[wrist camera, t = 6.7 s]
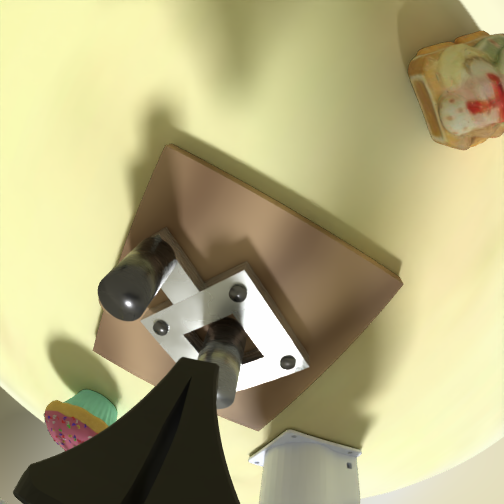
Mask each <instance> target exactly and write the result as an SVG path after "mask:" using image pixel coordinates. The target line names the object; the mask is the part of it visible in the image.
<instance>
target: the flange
mask: <svg viewBox="0 0 504 504" xmlns="http://www.w3.org/2000/svg"><path fill="white" fill-rule="evenodd" d="M160 288H161V289H162V290H163V291H164V293H165V294H166V295H167V297H168V298H169V300H167V301H165V302H163V303H161V304H159V305H157V306H155V307H153V308H151V309H149V310H147V311H146V312H145V314H144V315H143V317H142V318H141V320H140V321H141V323H142V324H143V325H144V326H145V328H146V329H147V330H148V331H149V332H150V334H151V335H152V336H153V337H154V338H155V339H156V341H157V342H158V343H159V344H160V345H161V346H162V348H163V349H164V350H165V351H166V352H167V353H168V354H169V355H170V357H171V358H172V359H173V360H174V361H175V362H177V361H178V360H179V359H180V358H181V357H186V358H191V359H196V360H197V358H198V356H199V353H200V350H201V347H202V345H203V342H202V340H201V339H200V338H199V337H198V335H197V334H196V333H195V332H194V331H193V330H196V329H198V328H200V327H203V326H205V325H208V324H210V323H212V322H215V321H217V320H219V319H222V318H224V317H226V316H229V315H231V314H233V315H234V316H235V318H236V319H237V320H238V322H239V323H240V324H241V326H242V327H243V328H244V330H245V331H246V332H247V334H248V335H249V336H250V338H251V339H252V340H253V342H254V343H255V344H256V346H257V347H258V349H255V350H252V351H250V352H247V353H244V355H243V360H242V365H241V370H240V375H239V380H238V385H237V390H236V391H239V390H242V389H246V388H249V387H252V386H256V385H259V384H262V383H265V382H268V381H271V380H274V379H277V378H280V377H283V376H286V375H289V374H292V373H295V372H297V371H300V370H303V369H306V368H308V367H310V366H309V354H308V353H307V351H306V350H305V348H304V347H303V345H302V344H301V342H300V340H299V339H298V337H297V336H296V334H295V333H294V331H293V330H292V328H291V327H290V325H289V324H288V322H287V321H286V319H285V318H284V316H283V315H282V313H281V312H280V310H279V309H278V307H277V305H276V304H275V302H274V301H273V299H272V298H271V296H270V295H269V293H268V292H267V290H266V289H265V287H264V286H263V284H262V283H261V281H260V279H259V278H258V276H257V275H256V273H255V272H254V270H253V269H252V267H251V266H250V264H249V263H248V261H245V262H243V263H241V264H239V265H237V266H235V267H233V268H231V269H229V270H227V271H225V272H223V273H221V274H219V275H217V276H215V277H213V278H211V279H209V280H207V281H205V282H204V280H203V279H202V277H201V276H200V275H199V273H198V272H197V270H196V269H195V267H194V266H193V265H192V263H191V262H190V260H189V259H188V257H187V256H186V255H185V253H184V252H183V250H182V249H181V247H180V246H179V244H178V243H177V242H176V240H175V239H174V237H173V236H172V234H171V233H170V231H169V230H168V228H167V227H165V228H164V229H162V230H160V231H159V232H157V233H156V234H154V235H153V236H151V237H149V238H146V239H144V240H143V241H141V242H140V243H139V244H138V245H137V246H136V247H135V248H134V249H133V250H132V251H131V252H130V253H129V254H128V255H127V256H126V257H125V258H124V259H123V260H122V261H120V262H119V263H118V264H117V265H116V266H115V267H114V268H113V269H112V270H111V271H110V272H109V273H108V274H107V275H106V276H105V277H104V278H103V279H102V280H101V282H100V283H99V286H98V296H99V300H100V302H101V304H102V305H103V307H104V308H105V309H106V311H107V312H108V313H109V314H111V315H112V316H113V317H115V318H117V319H119V320H122V321H135V320H137V319H139V318H140V317H141V316H142V314H143V313H144V311H145V310H146V308H147V307H148V305H149V304H150V302H151V301H152V299H153V298H154V297H155V295H156V294H157V292H158V291H159V289H160Z"/></svg>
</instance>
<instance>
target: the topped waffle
mask: <svg viewBox="0 0 504 504" xmlns="http://www.w3.org/2000/svg"><path fill="white" fill-rule="evenodd" d="M408 74H409V78H410V81H411V84H412V87H413V89H414V92H415V94H416V97H417V99H418V102H419V104H420V107H421V109H422V112H423V115H424V118H425V121H426V124H427V127H428V129H429V132H430V135H431V137H432V139H433V140H434V141H435V142H437V143H440V144H443V145H446V146H449V147H452V148H456V149H460V150H467V149H468V148H469V147H473V146H476V145H477V144H479V143H483V142H484V141H486V140H487V139H488V138H496V137H499V136H501V135H502V134H503V133H504V34H494V35H489V34H488V33H487V32H485V31H478V32H475V33H471V34H468V35H464V36H461V37H458V38H456V39H455V41H454V43H453V42H445V43H440V44H436V45H432V46H429V47H426V48H423V49H421V50H419V51H418V53H417V55H416V57H415V58H414V59H412V60H411V62H410V64H409V68H408Z"/></svg>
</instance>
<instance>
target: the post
mask: <svg viewBox="0 0 504 504" xmlns="http://www.w3.org/2000/svg"><path fill="white" fill-rule="evenodd" d="M246 339H247V332H246V331H245V330H244V328H243V327H242V326H241V324H240V323H239V322H238V321H237V320H235V319H233V318H229V317H224V318H222V319H219V320H217V321H215V322H212V323H211V324H210V326H209V328H208V331H207V334H206V336H205V339H204V342H203V345H202V347H201V350H200V353H199V356H198V358H197V360H201V361H205V362H210V363H216V364H217V365H218V366H219V379H218V391H217V400H216V406H217V409H224V408H227V407H229V406H231V405H232V404H233V402H234V399H235V395H236V390H237V385H238V380H239V375H240V370H241V365H242V360H243V355H244V349H245V344H246Z"/></svg>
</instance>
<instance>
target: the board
mask: <svg viewBox="0 0 504 504" xmlns="http://www.w3.org/2000/svg"><path fill="white" fill-rule="evenodd" d="M165 227H167V228H168V230H169V231H170V233H171V234H172V236H173V237H174V239H175V240H176V242H177V243H178V244H179V246H180V247H181V249H182V250H183V252H184V253H185V255H186V256H187V257H188V259H189V260H190V262H191V263H192V265H193V266H194V267H195V269H196V270H197V272H198V273H199V275H200V276H201V277H202V279H203V280H204V282H205V281H207V280H209V279H211V278H213V277H215V276H217V275H219V274H221V273H223V272H225V271H227V270H229V269H231V268H233V267H235V266H237V265H239V264H241V263H243V262H245V261H248V263H249V264H250V266H251V267H252V269H253V270H254V272H255V273H256V275H257V276H258V278H259V279H260V281H261V283H262V284H263V286H264V287H265V289H266V290H267V292H268V293H269V295H270V296H271V298H272V299H273V301H274V302H275V304H276V305H277V307H278V309H279V310H280V312H281V313H282V315H283V316H284V318H285V319H286V321H287V322H288V324H289V325H290V327H291V328H292V330H293V331H294V333H295V334H296V336H297V337H298V339H299V340H300V342H301V344H302V345H303V347H304V348H305V350H306V351H307V353H308V354H309V366H310V367H308V368H306V369H303V370H300V371H297V372H295V373H292V374H289V375H286V376H283V377H280V378H277V379H274V380H271V381H268V382H265V383H262V384H259V385H256V386H252V387H249V388H246V389H242V390H239V391H236V395H235V399H234V402H233V404H232V405H231V406H229V407H227V408H224V409H217V415H218V416H221V417H223V418H225V419H228V420H230V421H233V422H235V423H238V424H240V425H243V426H246V427H248V428H251V429H254V430H256V431H259V430H261V429H262V428H263V427H264V426H265V425H267V424H268V423H269V422H270V421H271V420H273V419H274V418H275V417H276V416H277V415H278V414H279V413H281V412H282V411H283V410H284V409H285V408H286V407H287V406H288V405H290V404H291V403H292V402H293V401H294V400H295V399H296V398H297V397H298V396H299V395H301V394H302V393H303V392H304V391H305V390H306V389H307V388H308V387H309V386H310V385H311V384H312V383H313V382H314V381H315V380H316V379H317V378H318V377H320V376H321V375H322V374H323V373H324V372H325V371H326V370H327V369H328V368H329V367H330V366H331V365H332V364H333V363H334V362H335V361H336V360H337V359H338V358H339V357H340V355H341V354H342V353H343V352H344V351H345V350H346V349H347V348H348V347H349V346H350V345H351V344H352V343H353V342H354V341H355V340H356V339H357V338H358V336H359V335H360V334H361V333H362V332H363V331H364V330H365V329H366V328H367V327H368V325H369V324H370V323H371V322H372V321H373V320H374V319H375V318H376V316H377V315H378V314H379V313H380V312H381V311H382V310H383V308H384V307H385V306H386V305H387V304H388V302H389V301H390V300H391V299H392V298H393V297H394V295H395V294H396V293H397V292H398V290H399V289H400V288H401V287H402V286H403V282H402V281H401V279H400V277H399V276H398V275H396V274H395V273H393V272H392V271H390V270H389V269H387V268H385V267H384V266H382V265H381V264H379V263H378V262H376V261H375V260H373V259H372V258H370V257H368V256H367V255H365V254H364V253H362V252H361V251H359V250H357V249H356V248H354V247H353V246H351V245H349V244H348V243H346V242H345V241H343V240H341V239H340V238H338V237H337V236H335V235H333V234H332V233H330V232H328V231H327V230H325V229H323V228H322V227H320V226H319V225H317V224H315V223H314V222H312V221H310V220H309V219H307V218H305V217H303V216H302V215H300V214H298V213H297V212H295V211H293V210H292V209H290V208H288V207H287V206H285V205H283V204H281V203H280V202H278V201H276V200H274V199H273V198H271V197H269V196H267V195H266V194H264V193H262V192H260V191H259V190H257V189H255V188H253V187H252V186H250V185H248V184H246V183H244V182H243V181H241V180H239V179H237V178H235V177H234V176H232V175H230V174H228V173H226V172H224V171H223V170H221V169H219V168H217V167H215V166H213V165H212V164H210V163H208V162H206V161H204V160H202V159H200V158H198V157H196V156H195V155H193V154H191V153H189V152H187V151H185V150H183V149H181V148H179V147H177V146H175V145H173V144H168V145H165V147H164V149H163V151H162V154H161V156H160V158H159V160H158V163H157V165H156V167H155V169H154V172H153V174H152V176H151V179H150V181H149V183H148V186H147V188H146V190H145V193H144V195H143V198H142V200H141V203H140V205H139V208H138V210H137V213H136V216H135V218H134V221H133V223H132V226H131V229H130V231H129V234H128V237H127V240H126V242H125V245H124V248H123V251H122V254H121V257H120V260H119V262H120V261H122V260H123V259H124V258H125V257H126V256H127V255H128V254H129V253H130V252H131V251H132V250H133V249H134V248H135V247H136V246H137V245H138V244H139V243H140V242H141V241H143V240H144V239H146V238H149V237H151V236H153V235H154V234H156V233H157V232H159V231H160V230H162V229H164V228H165ZM167 300H169V298H168V297H167V295H166V294H165V293H164V291H163V290H162V289H161V288H160V289H159V291H158V292H157V294H156V295H155V297H154V298H153V299H152V301H151V302H150V304H149V305H148V307H147V308H146V310H145V311H144V313H143V314H142V316H141V317H140V318H139V319H137V320H135V321H122V320H119V319H117V318H115V317H113V316H112V315H110V314H108V313H106V312H105V311H103V314H102V318H101V321H100V325H99V329H98V332H97V336H96V340H95V344H94V348H93V351H94V352H96V353H98V354H99V355H101V356H102V357H104V358H106V359H107V360H109V361H111V362H112V363H114V364H116V365H118V366H119V367H121V368H123V369H125V370H126V371H128V372H130V373H132V374H133V375H135V376H137V377H139V378H141V379H143V380H145V381H146V382H148V383H150V384H152V385H154V386H156V385H157V384H158V383H159V382H160V381H161V380H162V379H163V378H164V377H165V376H166V374H167V373H168V372H169V371H170V370H171V369H172V367H173V366H174V365H175V364H176V362H175V361H174V360H173V359H172V358H171V357H170V355H169V354H168V353H167V352H166V351H165V350H164V349H163V348H162V346H161V345H160V344H159V343H158V342H157V341H156V339H155V338H154V337H153V336H152V335H151V334H150V332H149V331H148V330H147V329H146V328H145V326H144V325H143V324H142V323H141V321H140V320H141V318H142V317H143V315H144V314H145V312H146V311H147V310H149V309H151V308H153V307H155V306H157V305H159V304H161V303H163V302H165V301H167ZM226 317H229V318H233V319H235V320H237V319H236V318H235V316H234V315H233V314H231V315H229V316H226ZM237 321H238V320H237ZM210 324H211V323H210ZM210 324H208V325H205V326H203V327H200V328H198V329H196V330H193V331H194V332H195V333H196V334H197V335H198V337H199V338H200V339H201V340H202V342H204V339H205V336H206V334H207V331H208V328H209V326H210ZM255 349H258V347H257V346H256V344H255V343H254V342H253V340H252V339H251V338H250V336H249V335H248V334H247V339H246V344H245V349H244V353H247V352H250V351H252V350H255Z"/></svg>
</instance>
